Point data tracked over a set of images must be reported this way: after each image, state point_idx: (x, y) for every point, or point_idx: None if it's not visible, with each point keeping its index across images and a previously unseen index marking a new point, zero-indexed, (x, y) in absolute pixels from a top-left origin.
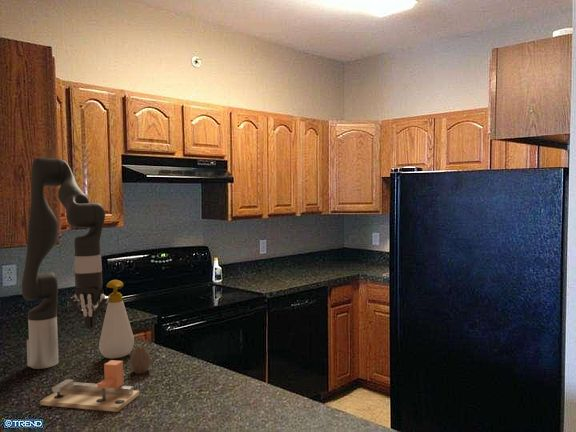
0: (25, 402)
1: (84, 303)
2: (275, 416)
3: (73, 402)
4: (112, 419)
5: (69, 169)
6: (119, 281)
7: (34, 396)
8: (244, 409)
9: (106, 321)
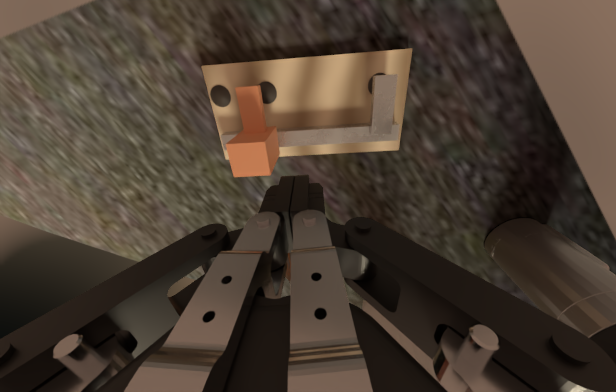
0: (455, 53)
1: (294, 293)
2: None
3: (321, 63)
4: (185, 22)
5: None
6: None
7: (451, 92)
8: (3, 143)
9: (422, 352)
